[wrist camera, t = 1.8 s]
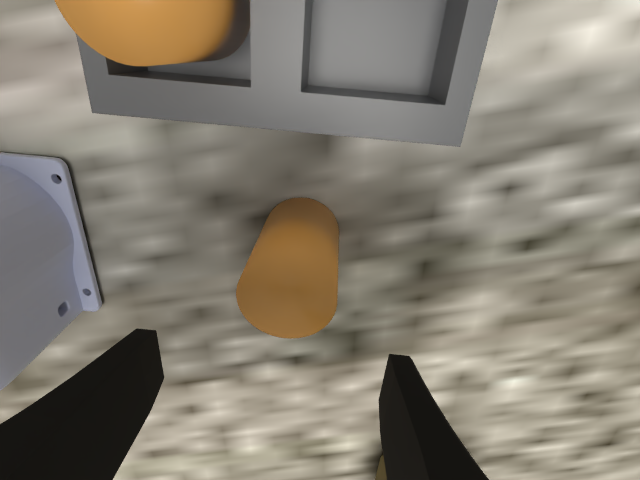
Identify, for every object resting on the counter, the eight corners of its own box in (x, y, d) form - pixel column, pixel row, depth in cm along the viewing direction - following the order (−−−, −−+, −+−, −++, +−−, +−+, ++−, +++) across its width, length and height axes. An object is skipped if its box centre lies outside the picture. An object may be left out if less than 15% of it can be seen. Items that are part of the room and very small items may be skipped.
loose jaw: (335, 267, 21) (332, 342, 15) (264, 260, 21) (237, 333, 15) (342, 201, 19) (342, 261, 13) (265, 194, 19) (234, 250, 13)
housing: (438, 129, 17) (488, 169, 11) (138, 101, 17) (32, 127, 11) (489, -100, 13) (605, -219, 7) (104, -132, 13) (-80, -272, 7)
